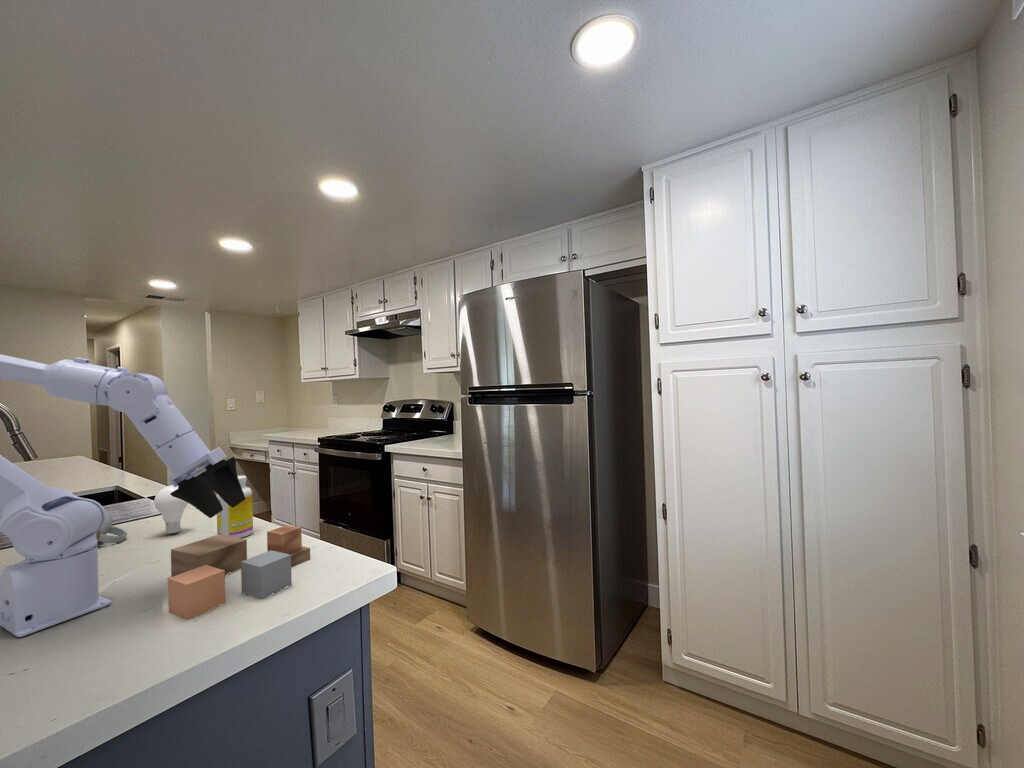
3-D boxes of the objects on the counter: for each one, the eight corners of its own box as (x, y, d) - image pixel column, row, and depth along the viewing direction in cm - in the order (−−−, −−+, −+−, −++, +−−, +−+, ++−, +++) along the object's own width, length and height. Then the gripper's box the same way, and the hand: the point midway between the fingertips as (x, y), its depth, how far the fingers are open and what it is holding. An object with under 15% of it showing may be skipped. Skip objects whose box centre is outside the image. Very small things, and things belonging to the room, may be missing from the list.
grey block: (261, 599, 64) (260, 566, 64) (241, 593, 66) (240, 561, 66) (291, 585, 69) (290, 554, 69) (272, 579, 71) (271, 550, 71)
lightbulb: (160, 532, 97) (159, 484, 97) (194, 527, 100) (192, 481, 100) (150, 541, 91) (149, 490, 91) (186, 535, 94) (185, 486, 94)
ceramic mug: (50, 557, 83) (50, 518, 83) (64, 545, 90) (64, 509, 90) (122, 546, 89) (122, 509, 89) (130, 535, 96) (130, 501, 96)
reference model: (280, 571, 74) (279, 537, 74) (259, 565, 77) (258, 532, 77) (310, 558, 79) (309, 526, 79) (289, 553, 82) (288, 522, 82)
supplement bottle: (260, 530, 96) (258, 474, 96) (238, 541, 89) (237, 480, 90) (232, 530, 97) (231, 474, 97) (209, 541, 90) (208, 481, 90)
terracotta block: (187, 620, 59) (186, 584, 59) (168, 612, 61) (167, 578, 61) (225, 603, 63) (224, 570, 63) (206, 597, 66) (205, 564, 66)
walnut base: (199, 586, 69) (198, 556, 70) (171, 578, 73) (170, 549, 73) (247, 567, 77) (246, 539, 77) (219, 560, 80) (219, 534, 80)
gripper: (220, 414, 67) (271, 483, 69) (180, 442, 74) (228, 503, 76) (174, 435, 61) (232, 510, 63) (136, 463, 68) (189, 530, 70)
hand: (227, 508), depth 69 cm, fingers open, 7 cm apart
